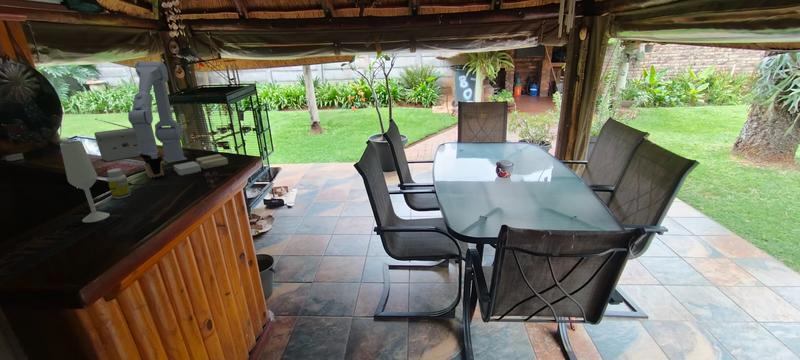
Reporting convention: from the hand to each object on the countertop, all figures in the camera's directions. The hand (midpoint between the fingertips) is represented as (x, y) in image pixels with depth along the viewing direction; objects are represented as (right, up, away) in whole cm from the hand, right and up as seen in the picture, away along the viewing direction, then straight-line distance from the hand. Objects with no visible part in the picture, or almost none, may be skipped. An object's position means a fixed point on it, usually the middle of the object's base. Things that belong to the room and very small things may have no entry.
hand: (154, 171), depth 146 cm
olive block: (+16, +3, +15) cm, 22 cm away
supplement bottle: (+2, -9, -20) cm, 22 cm away
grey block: (+11, 0, +5) cm, 12 cm away
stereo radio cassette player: (-29, +8, +25) cm, 39 cm away
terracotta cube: (0, -1, +1) cm, 2 cm away
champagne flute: (+7, -15, -36) cm, 39 cm away
